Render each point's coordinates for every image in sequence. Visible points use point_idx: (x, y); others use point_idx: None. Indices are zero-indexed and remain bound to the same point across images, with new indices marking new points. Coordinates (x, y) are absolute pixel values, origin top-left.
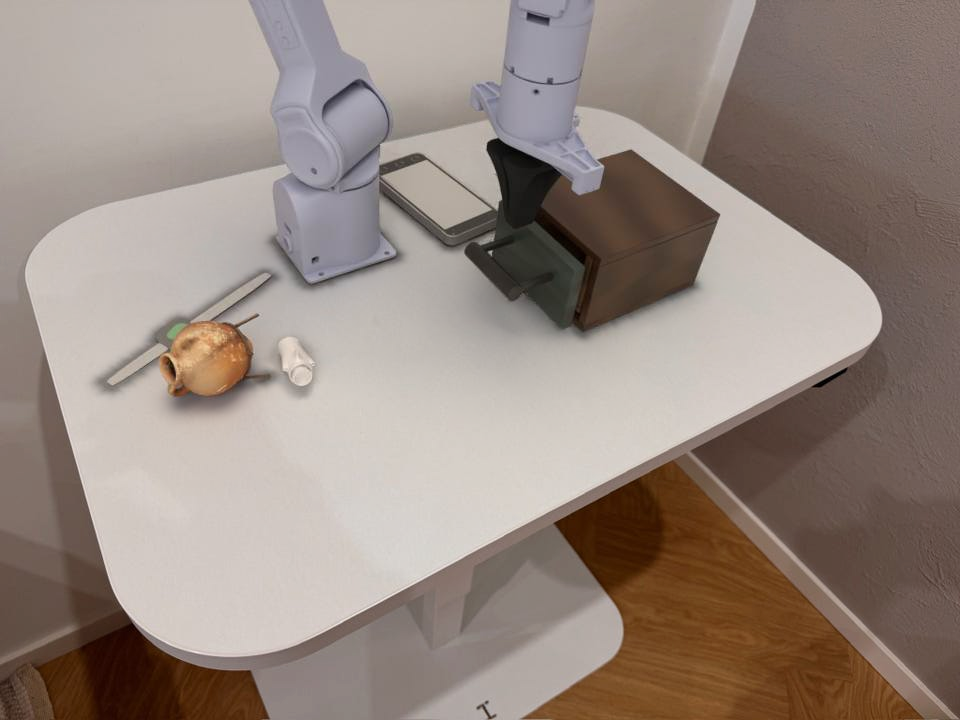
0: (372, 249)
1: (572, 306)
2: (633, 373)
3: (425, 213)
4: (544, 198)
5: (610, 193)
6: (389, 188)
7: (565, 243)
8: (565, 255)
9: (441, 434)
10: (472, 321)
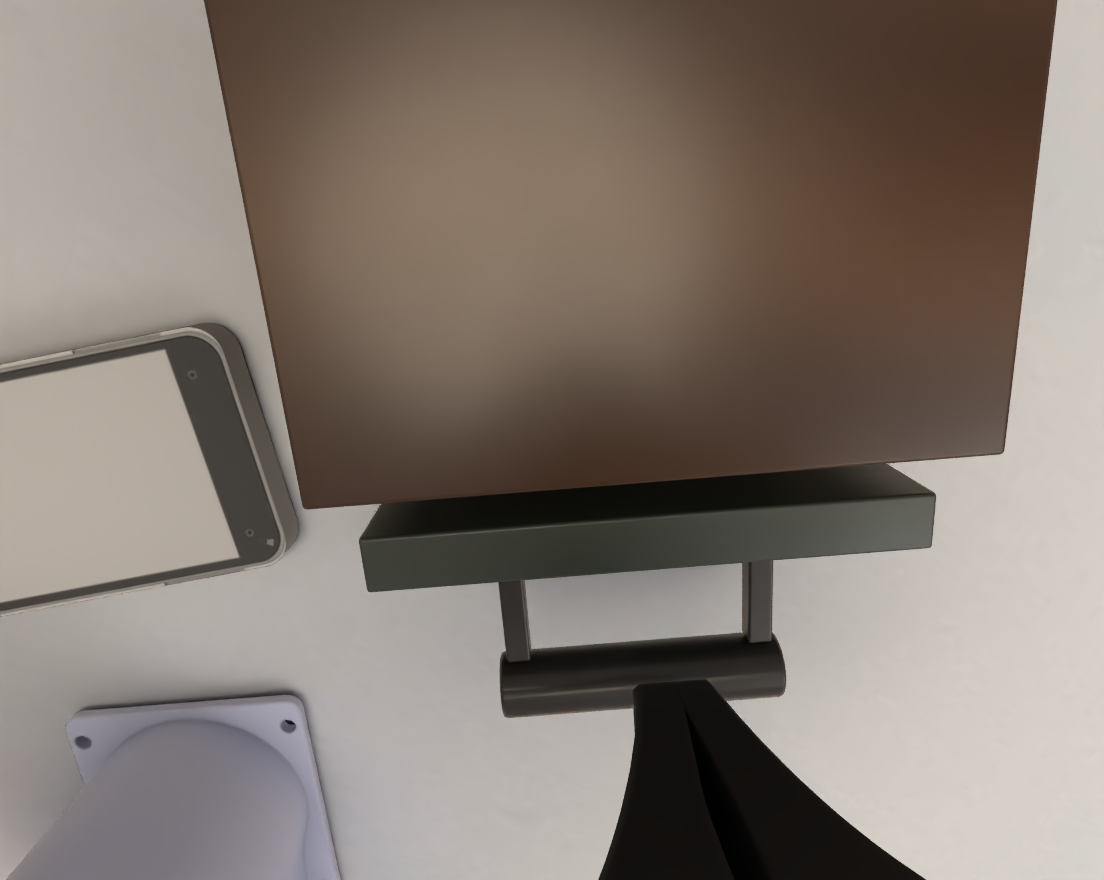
0: (279, 778)
1: None
2: (1019, 328)
3: (134, 575)
4: (788, 768)
5: (571, 30)
6: None
7: None
8: (831, 530)
9: (894, 821)
10: (624, 623)
